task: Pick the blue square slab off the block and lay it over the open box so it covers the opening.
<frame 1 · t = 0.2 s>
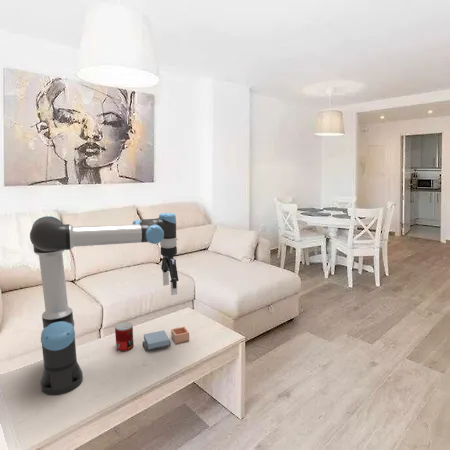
hand: (169, 289, 165), 27 cm above the table, fingers open, 13 cm apart
block: (156, 345, 166), on the table
open box: (180, 339, 172), on the table
blue square slab: (156, 341, 166), point 2 cm above the table, touching block
canned food: (125, 347, 165), on the table
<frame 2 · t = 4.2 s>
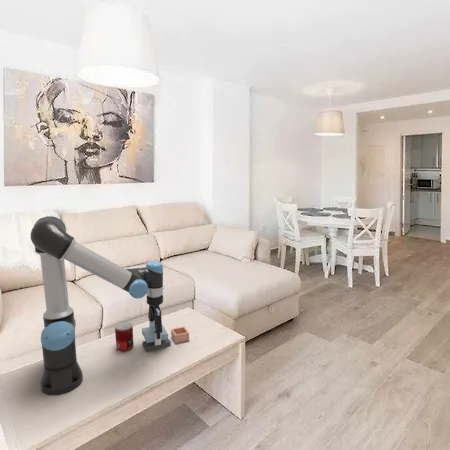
hand: (155, 339, 165), 3 cm above the table, fingers closed on blue square slab, 10 cm apart
blue square slab: (154, 335, 165), point 5 cm above the table, touching gripper
everything else where it was.
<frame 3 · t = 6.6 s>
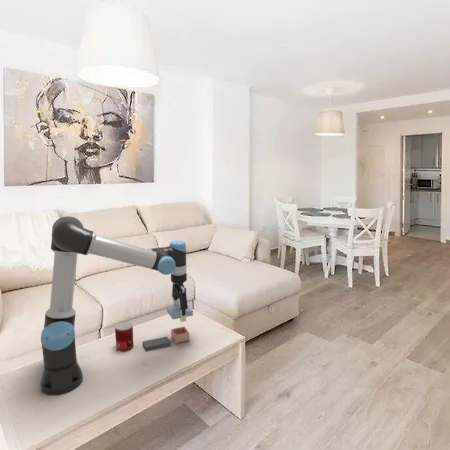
hand: (179, 316, 170), 12 cm above the table, fingers closed on blue square slab, 10 cm apart
blue square slab: (179, 313, 169), point 14 cm above the table, touching gripper
everything else where it was.
when the fingers open (4 cm above the table, at t = 8.8 s): blue square slab drops 1 cm, resting on open box.
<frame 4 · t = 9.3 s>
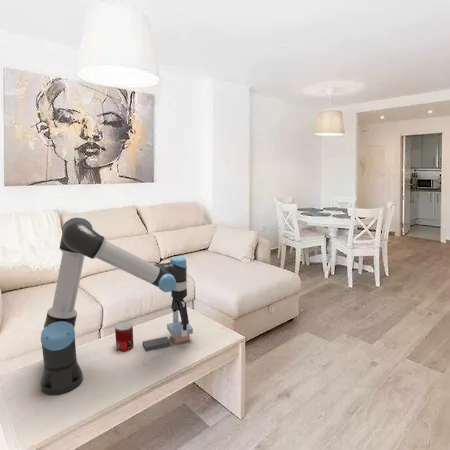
hand: (179, 329, 171), 5 cm above the table, fingers open, 13 cm apart
blue square slab: (179, 331, 171), point 4 cm above the table, touching open box
everything else where it was.
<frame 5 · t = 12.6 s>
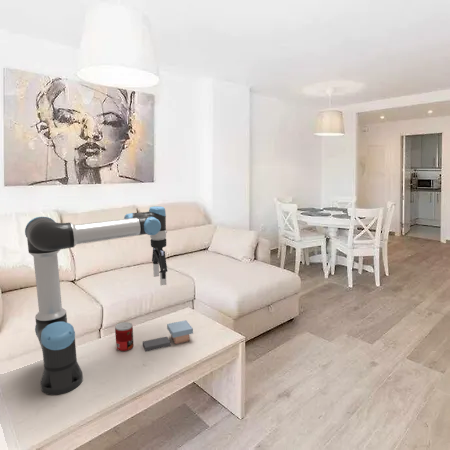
hand: (159, 280, 172), 29 cm above the table, fingers open, 13 cm apart
nothing on the table moved.
at the end: blue square slab 0.1 cm off-centre on the open box, point 4.5 cm above the open box's base; blue square slab tilted 0°; the gripper is holding nothing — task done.
